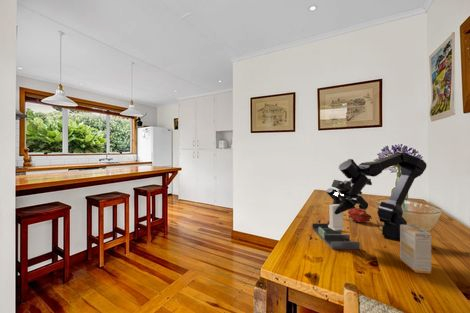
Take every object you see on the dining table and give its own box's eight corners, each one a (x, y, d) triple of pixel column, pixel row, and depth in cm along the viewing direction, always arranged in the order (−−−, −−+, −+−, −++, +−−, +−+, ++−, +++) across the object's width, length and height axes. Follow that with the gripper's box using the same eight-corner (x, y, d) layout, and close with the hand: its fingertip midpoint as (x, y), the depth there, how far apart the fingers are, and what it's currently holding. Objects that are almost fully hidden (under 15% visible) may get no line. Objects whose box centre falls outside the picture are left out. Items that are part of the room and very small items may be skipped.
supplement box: (432, 274, 63) (432, 233, 63) (415, 272, 64) (415, 232, 64) (414, 260, 71) (414, 224, 71) (399, 259, 72) (399, 223, 72)
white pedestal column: (338, 225, 87) (337, 203, 87) (344, 229, 83) (344, 205, 83) (328, 227, 86) (327, 204, 86) (334, 230, 82) (334, 206, 82)
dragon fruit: (346, 221, 118) (370, 229, 109) (343, 215, 113) (367, 224, 104) (352, 208, 120) (375, 216, 111) (348, 202, 115) (372, 209, 106)
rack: (333, 228, 102) (333, 221, 102) (359, 249, 80) (359, 239, 80) (312, 228, 103) (312, 221, 102) (332, 249, 81) (332, 239, 81)
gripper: (329, 171, 94) (308, 195, 92) (361, 175, 76) (336, 206, 74) (343, 187, 96) (323, 211, 94) (379, 194, 78) (355, 225, 76)
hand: (333, 212), depth 84 cm, fingers closed on white pedestal column, 2 cm apart
